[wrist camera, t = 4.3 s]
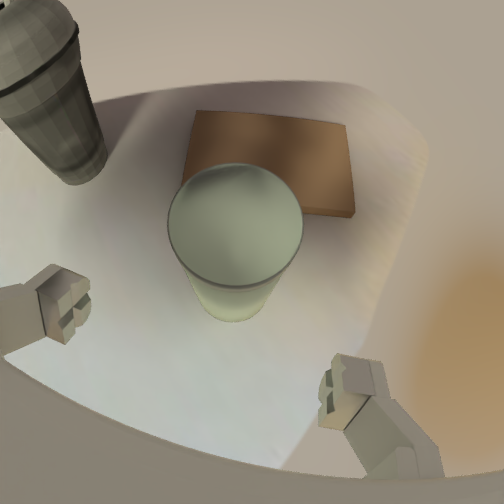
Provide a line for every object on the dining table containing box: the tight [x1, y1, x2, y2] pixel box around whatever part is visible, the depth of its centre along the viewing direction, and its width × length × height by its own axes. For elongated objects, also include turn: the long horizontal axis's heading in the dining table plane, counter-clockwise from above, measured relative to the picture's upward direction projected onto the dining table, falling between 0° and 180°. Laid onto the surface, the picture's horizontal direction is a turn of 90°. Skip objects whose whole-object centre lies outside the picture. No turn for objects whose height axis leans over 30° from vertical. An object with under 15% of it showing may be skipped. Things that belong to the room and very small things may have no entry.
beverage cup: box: [0, 0, 107, 185], centre depth 13 cm, size 7×7×20 cm
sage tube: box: [167, 162, 304, 322], centre depth 15 cm, size 5×5×10 cm
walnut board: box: [181, 110, 355, 218], centre depth 23 cm, size 12×8×1 cm, turn 87°
